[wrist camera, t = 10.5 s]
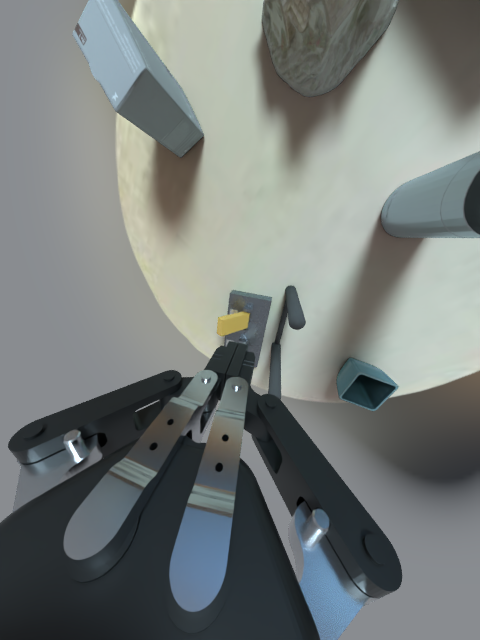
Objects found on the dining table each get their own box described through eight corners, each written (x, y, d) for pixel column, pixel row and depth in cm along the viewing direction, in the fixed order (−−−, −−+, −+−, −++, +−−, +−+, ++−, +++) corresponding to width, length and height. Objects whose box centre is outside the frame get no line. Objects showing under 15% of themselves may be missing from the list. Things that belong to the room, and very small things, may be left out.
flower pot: (328, 373, 50) (338, 399, 42) (345, 348, 46) (359, 372, 38) (359, 384, 50) (374, 412, 42) (379, 360, 46) (400, 386, 38)
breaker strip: (271, 297, 45) (270, 303, 40) (257, 360, 53) (256, 372, 49) (232, 290, 46) (227, 295, 41) (225, 353, 55) (220, 363, 50)
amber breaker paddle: (249, 313, 43) (222, 320, 38) (247, 328, 44) (221, 336, 39) (245, 310, 44) (218, 317, 39) (243, 325, 45) (216, 333, 40)
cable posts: (297, 286, 42) (307, 316, 26) (279, 350, 50) (279, 402, 34) (286, 284, 43) (291, 313, 27) (270, 348, 51) (267, 399, 35)
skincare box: (205, 136, 34) (153, 66, 20) (178, 162, 37) (115, 116, 23) (180, 83, 32) (101, -40, 18) (152, 114, 34) (64, 29, 20)
